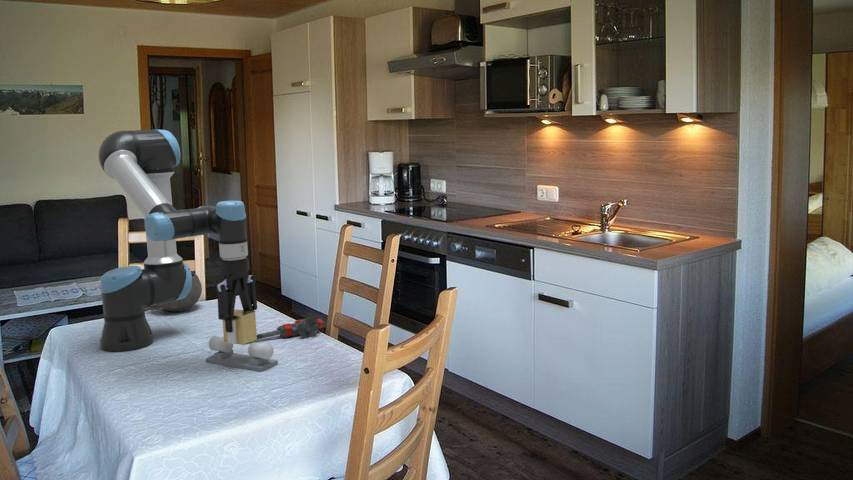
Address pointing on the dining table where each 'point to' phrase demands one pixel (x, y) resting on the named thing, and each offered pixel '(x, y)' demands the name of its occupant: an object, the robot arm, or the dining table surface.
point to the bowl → (188, 300)
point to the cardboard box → (243, 326)
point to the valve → (296, 329)
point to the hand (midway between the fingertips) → (240, 339)
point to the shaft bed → (255, 361)
